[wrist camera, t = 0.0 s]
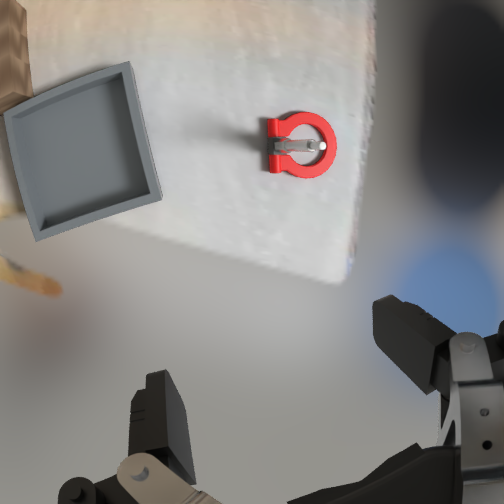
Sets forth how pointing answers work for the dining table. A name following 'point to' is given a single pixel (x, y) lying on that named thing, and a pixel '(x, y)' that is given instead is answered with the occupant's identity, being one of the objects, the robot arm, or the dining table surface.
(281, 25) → the dining table surface
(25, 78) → the block
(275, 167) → the tow hook
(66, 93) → the tray
